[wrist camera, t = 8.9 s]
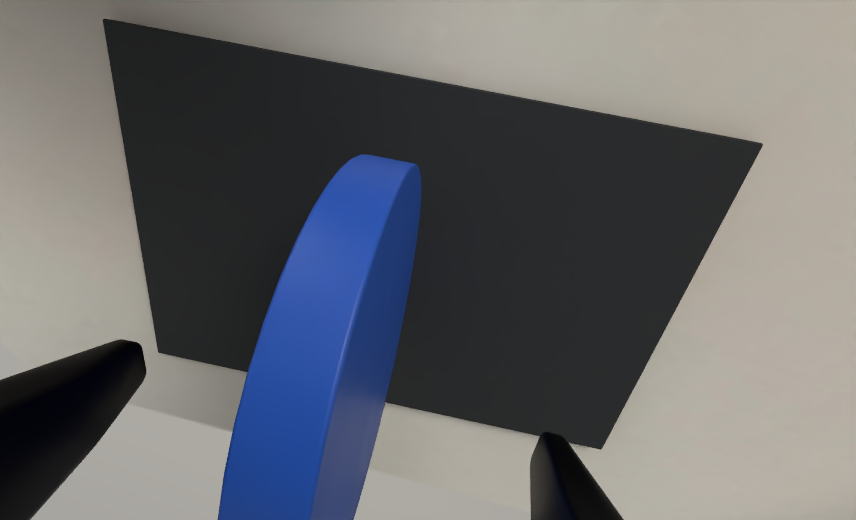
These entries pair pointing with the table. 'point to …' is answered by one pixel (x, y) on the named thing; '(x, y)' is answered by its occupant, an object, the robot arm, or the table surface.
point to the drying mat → (421, 221)
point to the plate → (326, 351)
